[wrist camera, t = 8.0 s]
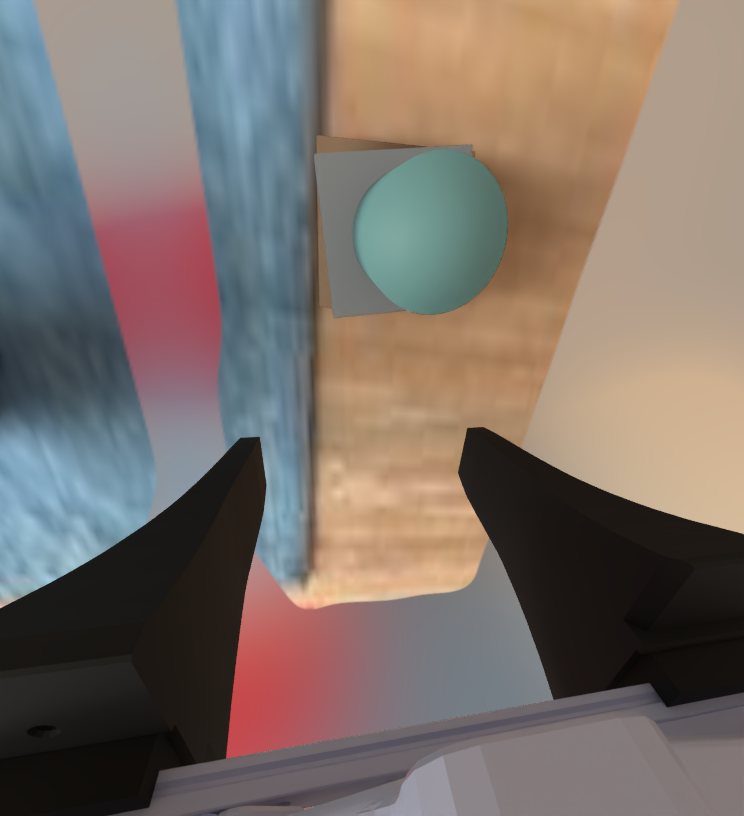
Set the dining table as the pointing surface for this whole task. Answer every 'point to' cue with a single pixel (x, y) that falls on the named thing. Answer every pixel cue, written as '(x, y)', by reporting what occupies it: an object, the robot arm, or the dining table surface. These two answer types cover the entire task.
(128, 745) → the robot arm
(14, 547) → the dining table surface
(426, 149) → the top block
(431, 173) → the green rounded cylinder
